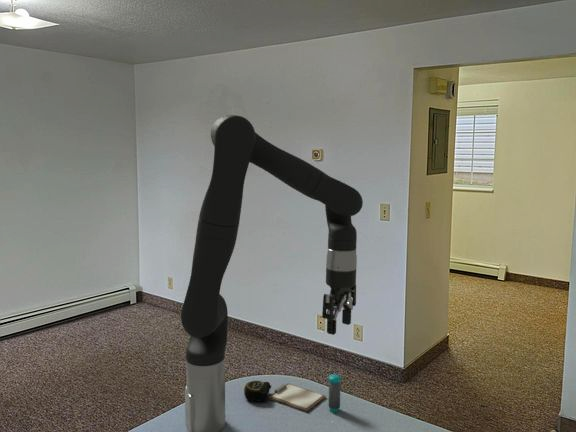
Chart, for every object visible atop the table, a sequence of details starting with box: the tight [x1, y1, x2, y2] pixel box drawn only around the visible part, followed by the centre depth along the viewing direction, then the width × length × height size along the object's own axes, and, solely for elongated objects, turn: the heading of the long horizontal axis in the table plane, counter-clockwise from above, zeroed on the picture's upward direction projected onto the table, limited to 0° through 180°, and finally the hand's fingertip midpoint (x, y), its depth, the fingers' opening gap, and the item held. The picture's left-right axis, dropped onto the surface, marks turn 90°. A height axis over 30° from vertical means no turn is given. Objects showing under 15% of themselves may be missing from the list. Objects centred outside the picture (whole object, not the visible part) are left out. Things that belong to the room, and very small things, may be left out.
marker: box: [328, 373, 342, 414], centre depth 128 cm, size 3×3×9 cm
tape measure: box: [243, 380, 272, 403], centre depth 135 cm, size 7×7×4 cm
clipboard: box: [267, 383, 327, 414], centre depth 135 cm, size 12×10×2 cm
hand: (339, 328), depth 126 cm, fingers open, 8 cm apart
